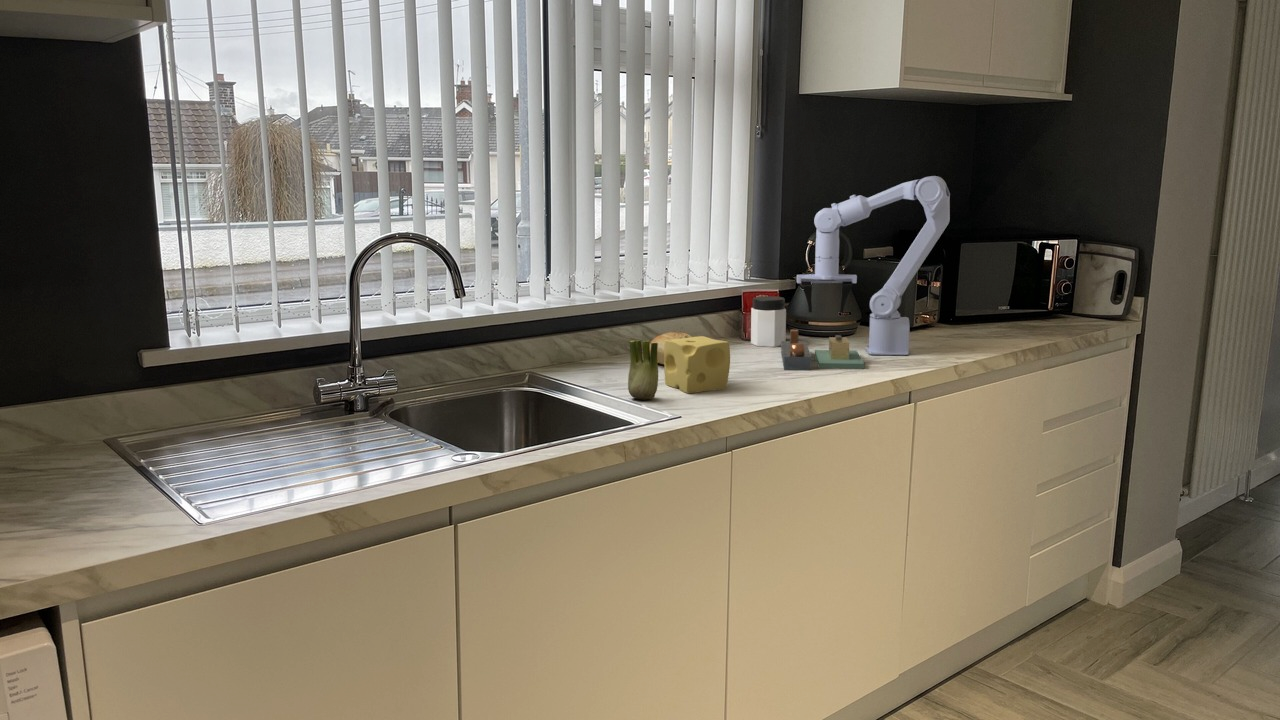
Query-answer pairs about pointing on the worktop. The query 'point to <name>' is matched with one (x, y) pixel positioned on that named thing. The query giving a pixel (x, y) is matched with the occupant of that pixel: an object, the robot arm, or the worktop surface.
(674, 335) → the bread roll
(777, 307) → the jar
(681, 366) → the cheese
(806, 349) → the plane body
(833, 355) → the tan block
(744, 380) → the worktop surface
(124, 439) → the worktop surface
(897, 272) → the robot arm
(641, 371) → the fennel bulb
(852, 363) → the mat
